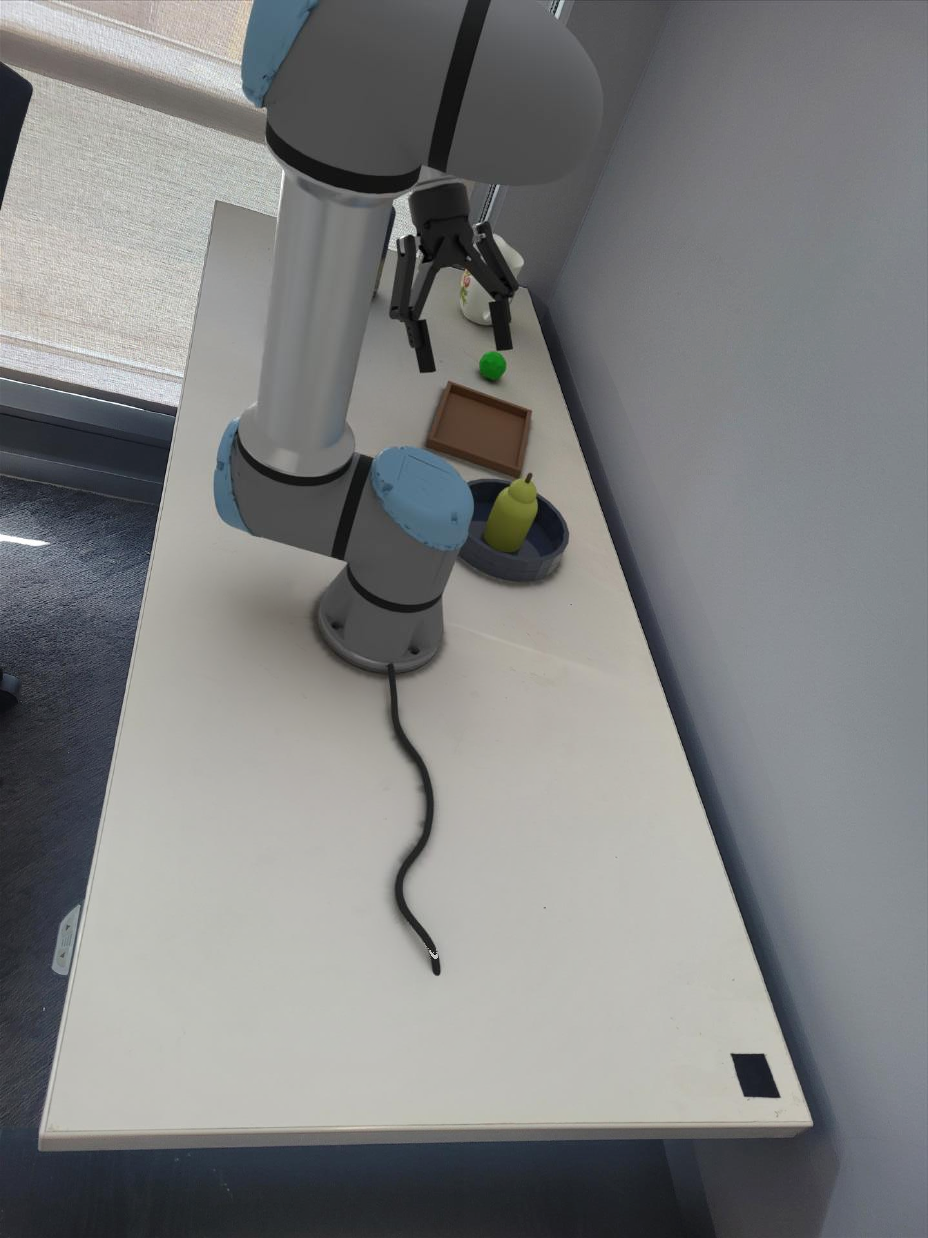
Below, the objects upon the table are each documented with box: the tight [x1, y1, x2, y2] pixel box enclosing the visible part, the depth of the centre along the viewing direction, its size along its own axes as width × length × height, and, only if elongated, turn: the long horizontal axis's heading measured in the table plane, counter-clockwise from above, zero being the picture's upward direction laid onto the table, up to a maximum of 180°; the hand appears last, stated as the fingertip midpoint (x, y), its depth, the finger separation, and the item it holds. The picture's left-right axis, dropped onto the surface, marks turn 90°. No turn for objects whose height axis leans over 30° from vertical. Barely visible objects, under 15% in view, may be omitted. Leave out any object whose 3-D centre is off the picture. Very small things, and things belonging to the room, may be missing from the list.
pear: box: [483, 472, 538, 552], centre depth 115 cm, size 6×6×12 cm
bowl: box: [458, 478, 570, 583], centre depth 118 cm, size 18×18×4 cm
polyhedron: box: [478, 350, 507, 381], centre depth 150 cm, size 5×5×5 cm
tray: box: [425, 380, 533, 479], centre depth 137 cm, size 20×16×2 cm
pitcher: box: [459, 232, 525, 326], centre depth 163 cm, size 11×18×14 cm, turn 6°
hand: (467, 361), depth 111 cm, fingers open, 13 cm apart
